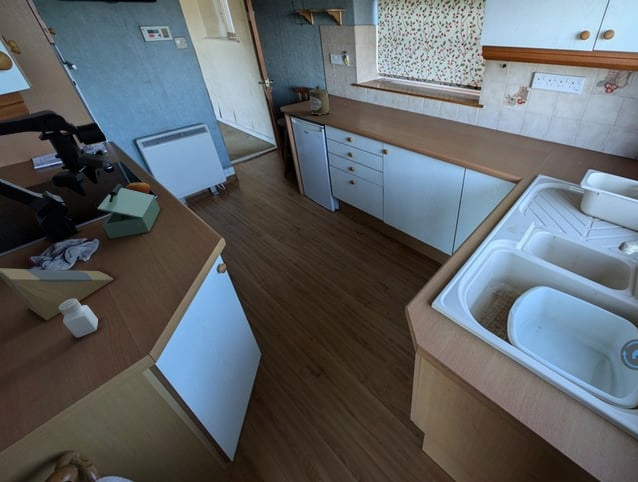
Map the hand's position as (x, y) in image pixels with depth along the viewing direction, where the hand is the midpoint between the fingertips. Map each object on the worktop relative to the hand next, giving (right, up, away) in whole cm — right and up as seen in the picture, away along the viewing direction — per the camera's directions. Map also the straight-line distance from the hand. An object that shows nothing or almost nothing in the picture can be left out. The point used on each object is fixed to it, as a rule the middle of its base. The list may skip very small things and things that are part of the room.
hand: (90, 189), depth 106 cm
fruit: (+1, -3, +21) cm, 21 cm away
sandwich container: (+19, -30, -24) cm, 43 cm away
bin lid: (+14, -5, 0) cm, 14 cm away
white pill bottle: (+33, -35, -33) cm, 58 cm away
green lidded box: (+13, -13, +5) cm, 19 cm away
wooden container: (+54, +65, +136) cm, 160 cm away
